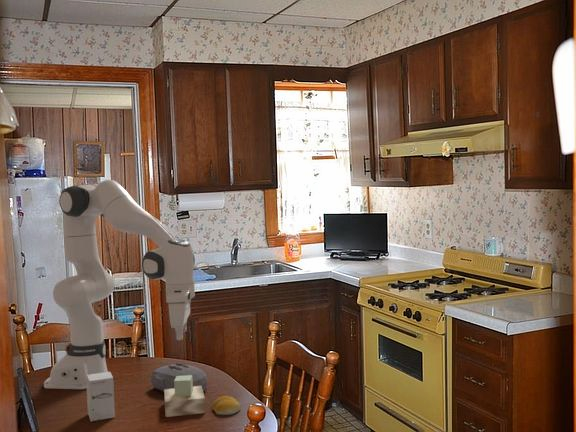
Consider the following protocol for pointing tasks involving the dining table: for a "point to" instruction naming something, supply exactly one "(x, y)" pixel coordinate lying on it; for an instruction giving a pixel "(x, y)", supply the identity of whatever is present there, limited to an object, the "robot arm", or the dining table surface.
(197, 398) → the wooden block
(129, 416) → the dining table surface
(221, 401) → the bread roll
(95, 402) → the supplement box
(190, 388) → the sage cube
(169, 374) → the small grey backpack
